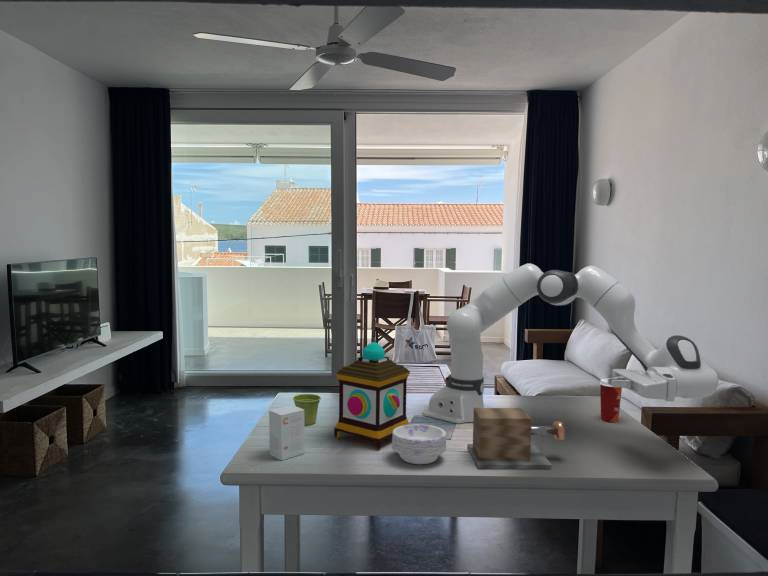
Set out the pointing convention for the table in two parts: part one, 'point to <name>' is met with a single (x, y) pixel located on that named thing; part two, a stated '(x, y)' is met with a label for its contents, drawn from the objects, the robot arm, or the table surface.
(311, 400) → the plant pot
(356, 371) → the decorative lantern
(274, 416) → the small box
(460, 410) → the robot arm
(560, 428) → the plunger
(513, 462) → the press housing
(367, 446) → the table surface
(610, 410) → the paper cup
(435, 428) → the paper bowls
